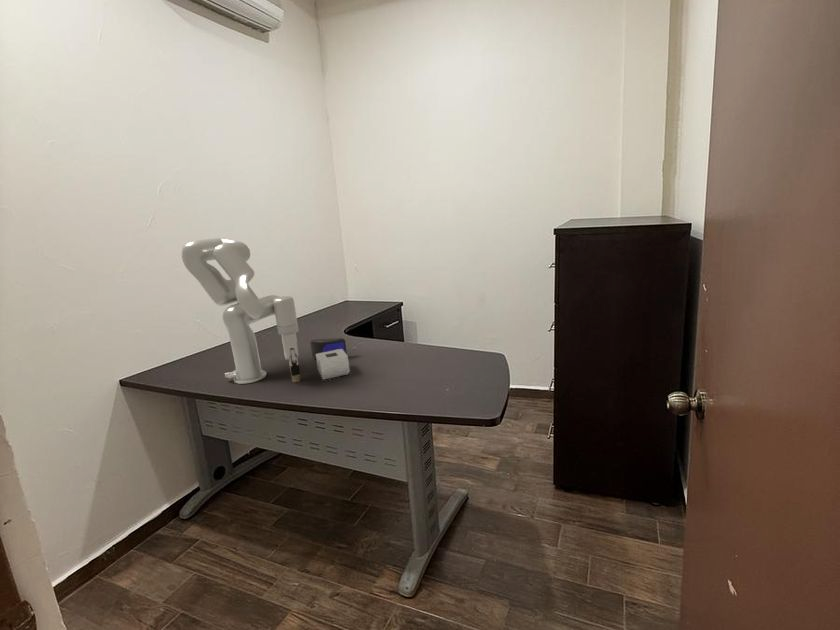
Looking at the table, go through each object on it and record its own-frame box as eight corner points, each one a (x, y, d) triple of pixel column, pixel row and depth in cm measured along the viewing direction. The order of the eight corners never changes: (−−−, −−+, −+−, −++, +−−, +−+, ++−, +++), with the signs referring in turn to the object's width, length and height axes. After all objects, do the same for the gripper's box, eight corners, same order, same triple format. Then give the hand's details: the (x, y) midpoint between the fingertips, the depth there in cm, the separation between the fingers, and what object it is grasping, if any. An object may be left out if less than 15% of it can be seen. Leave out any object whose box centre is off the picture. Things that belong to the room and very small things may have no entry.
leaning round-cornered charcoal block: (310, 362, 186) (306, 342, 184) (313, 358, 191) (310, 339, 188) (345, 360, 184) (342, 340, 182) (347, 357, 189) (345, 337, 186)
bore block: (322, 380, 163) (320, 361, 161) (318, 371, 173) (315, 353, 171) (350, 374, 167) (347, 356, 165) (344, 366, 177) (342, 348, 175)
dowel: (292, 383, 163) (288, 354, 160) (291, 380, 166) (287, 352, 163) (301, 381, 164) (296, 353, 161) (300, 379, 167) (295, 351, 164)
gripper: (276, 325, 166) (283, 367, 170) (279, 335, 150) (287, 381, 155) (295, 322, 168) (302, 363, 173) (300, 332, 153) (307, 377, 157)
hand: (295, 371), depth 164 cm, fingers open, 6 cm apart
